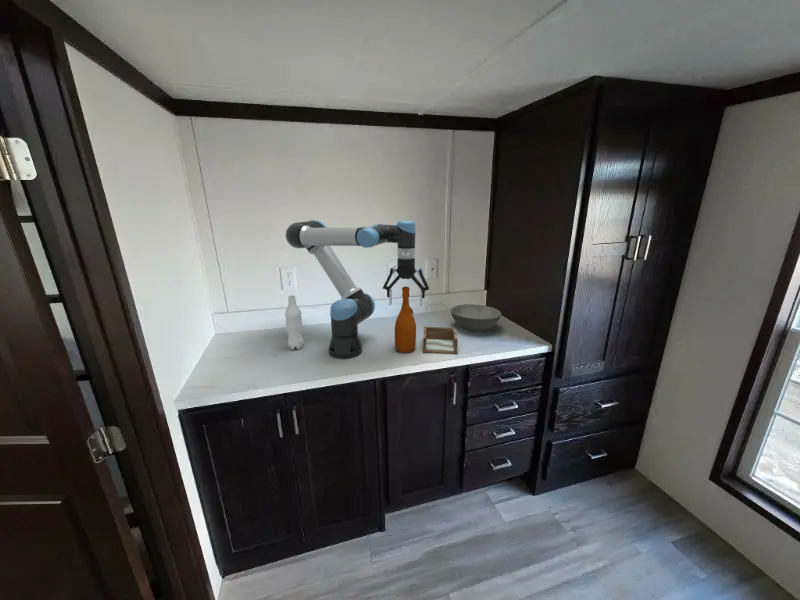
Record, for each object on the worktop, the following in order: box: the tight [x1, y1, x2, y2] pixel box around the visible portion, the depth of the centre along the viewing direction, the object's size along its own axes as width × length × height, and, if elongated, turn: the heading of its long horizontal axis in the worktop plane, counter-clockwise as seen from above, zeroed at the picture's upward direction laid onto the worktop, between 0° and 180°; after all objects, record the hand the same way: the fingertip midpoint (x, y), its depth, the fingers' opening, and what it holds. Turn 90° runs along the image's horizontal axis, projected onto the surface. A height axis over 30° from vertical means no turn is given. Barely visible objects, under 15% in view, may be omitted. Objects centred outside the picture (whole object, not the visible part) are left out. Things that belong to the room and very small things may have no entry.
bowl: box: [450, 303, 502, 331], centre depth 185 cm, size 26×26×10 cm
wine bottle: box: [394, 286, 417, 353], centre depth 156 cm, size 10×10×30 cm
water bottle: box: [284, 295, 305, 351], centre depth 158 cm, size 7×7×25 cm
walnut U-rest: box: [422, 326, 459, 355], centre depth 163 cm, size 16×16×7 cm
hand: (405, 304), depth 154 cm, fingers open, 13 cm apart
